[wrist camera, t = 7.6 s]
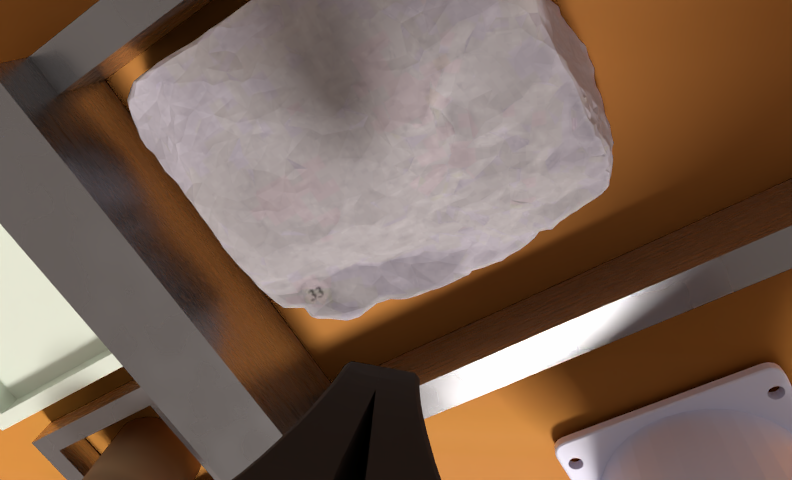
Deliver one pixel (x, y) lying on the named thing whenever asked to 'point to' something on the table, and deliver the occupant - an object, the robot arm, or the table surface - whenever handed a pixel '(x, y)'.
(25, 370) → the tray
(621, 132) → the table surface
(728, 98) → the table surface
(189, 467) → the dowel
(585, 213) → the table surface
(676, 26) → the table surface
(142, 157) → the bench stop
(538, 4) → the stone block
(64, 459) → the dowel socket
